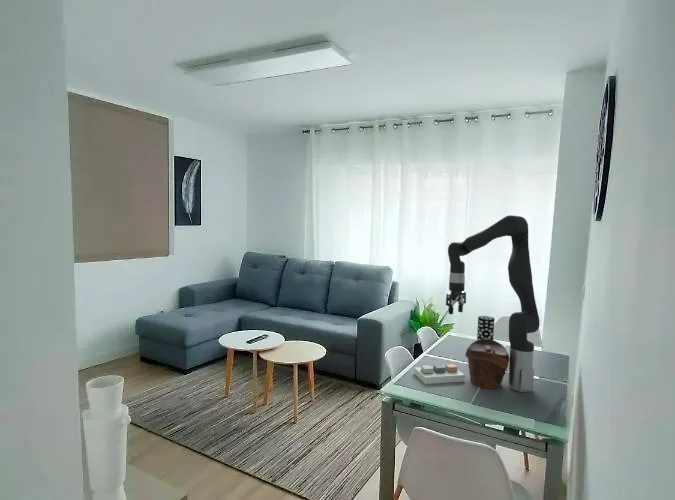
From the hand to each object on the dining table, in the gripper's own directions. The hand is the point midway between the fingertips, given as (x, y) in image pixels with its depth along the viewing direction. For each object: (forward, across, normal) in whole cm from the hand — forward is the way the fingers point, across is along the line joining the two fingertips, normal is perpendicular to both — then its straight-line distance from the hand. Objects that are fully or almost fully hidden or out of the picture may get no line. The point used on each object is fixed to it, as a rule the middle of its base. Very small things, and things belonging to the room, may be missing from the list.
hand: (455, 313), depth 199 cm
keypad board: (+25, -24, -8) cm, 36 cm away
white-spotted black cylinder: (+25, +24, -3) cm, 35 cm away
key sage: (+22, -30, -6) cm, 38 cm away
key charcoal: (+22, -25, -8) cm, 34 cm away
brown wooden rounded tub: (+26, -13, -25) cm, 38 cm away
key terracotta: (+22, -19, -11) cm, 31 cm away
